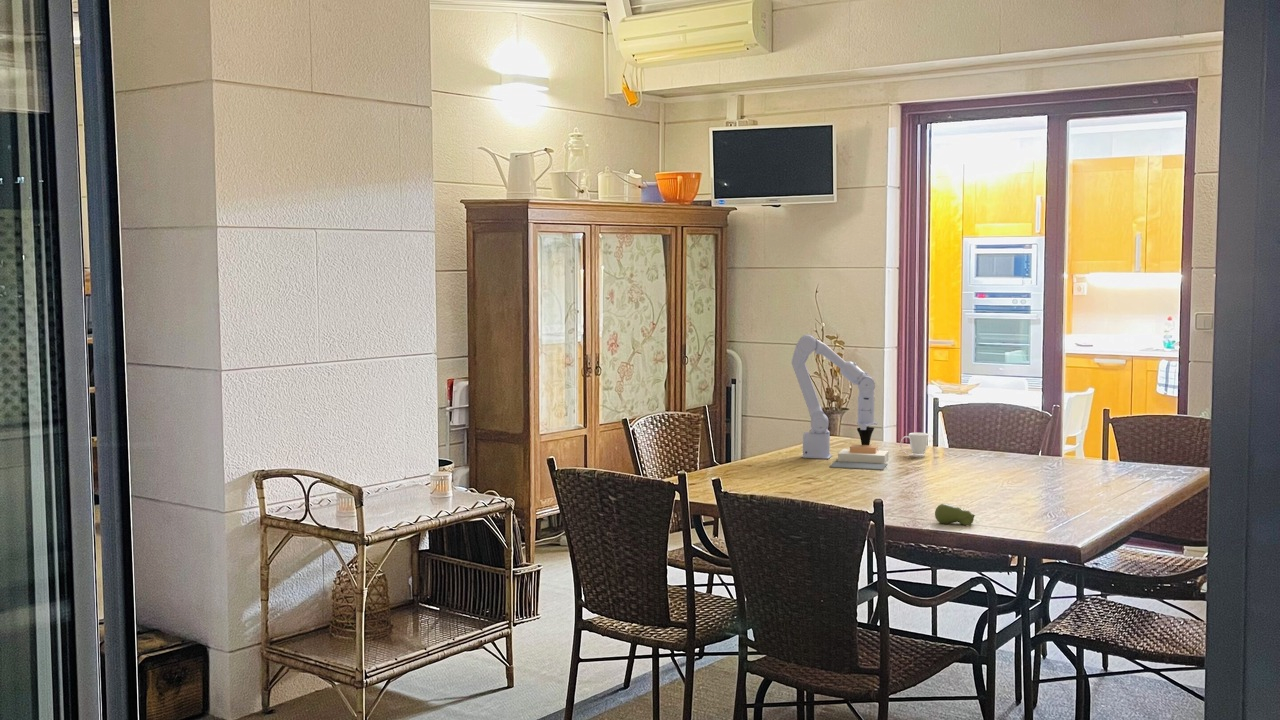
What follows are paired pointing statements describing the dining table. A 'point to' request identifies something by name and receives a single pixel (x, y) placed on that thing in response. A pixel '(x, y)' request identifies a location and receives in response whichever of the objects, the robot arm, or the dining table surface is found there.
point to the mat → (858, 465)
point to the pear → (953, 514)
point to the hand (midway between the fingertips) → (865, 447)
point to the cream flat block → (863, 456)
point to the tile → (863, 449)
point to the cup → (917, 443)
